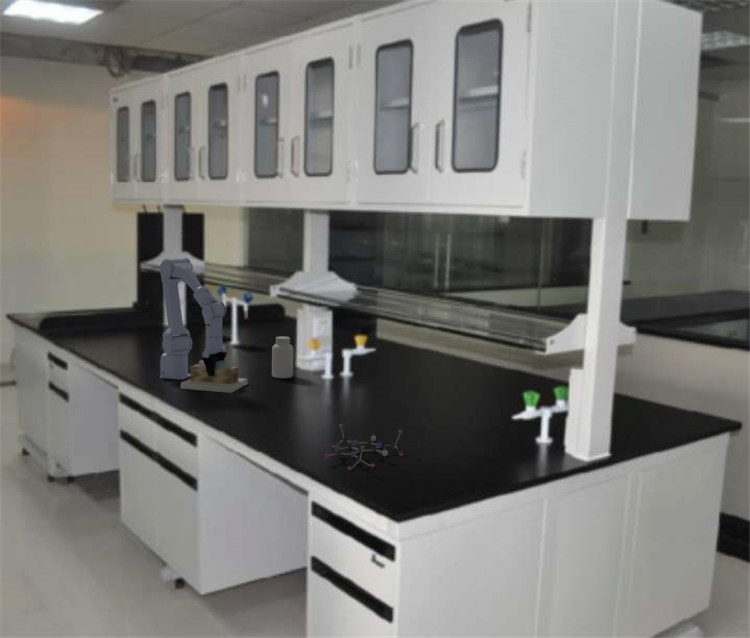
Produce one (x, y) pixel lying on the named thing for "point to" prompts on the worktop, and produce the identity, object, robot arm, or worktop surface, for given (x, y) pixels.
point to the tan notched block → (220, 375)
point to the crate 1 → (201, 364)
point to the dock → (213, 385)
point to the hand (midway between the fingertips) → (214, 374)
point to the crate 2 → (222, 364)
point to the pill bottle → (282, 358)
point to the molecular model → (362, 448)
